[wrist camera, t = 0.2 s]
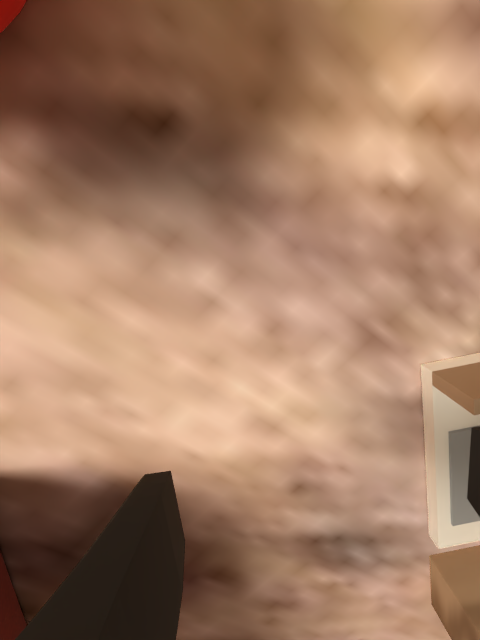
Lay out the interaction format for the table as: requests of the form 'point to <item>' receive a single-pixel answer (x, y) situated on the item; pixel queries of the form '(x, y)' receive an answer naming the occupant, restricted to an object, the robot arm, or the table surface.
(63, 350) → the table surface
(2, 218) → the table surface
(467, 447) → the tan rimmed flat piece
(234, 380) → the table surface
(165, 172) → the table surface
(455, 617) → the brown slab
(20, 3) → the ceramic cup
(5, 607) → the plant pot
